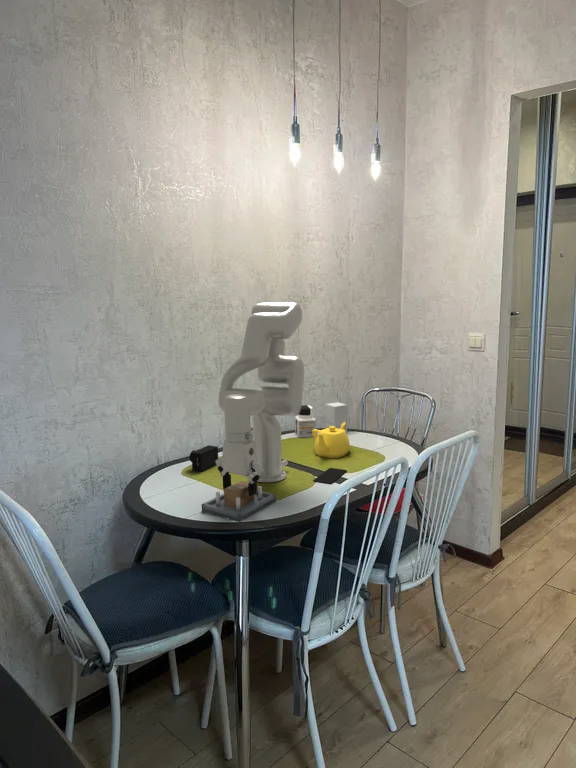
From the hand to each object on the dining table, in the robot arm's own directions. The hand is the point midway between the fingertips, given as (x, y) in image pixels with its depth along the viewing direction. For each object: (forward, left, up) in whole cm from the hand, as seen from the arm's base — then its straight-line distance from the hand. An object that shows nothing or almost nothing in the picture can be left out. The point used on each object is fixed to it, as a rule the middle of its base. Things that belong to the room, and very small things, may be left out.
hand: (239, 491), depth 168 cm
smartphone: (-38, +10, -5) cm, 39 cm away
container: (-80, -26, -5) cm, 84 cm away
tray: (0, 0, -5) cm, 5 cm away
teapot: (-62, -4, -5) cm, 62 cm away
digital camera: (-22, -34, -5) cm, 40 cm away
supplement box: (-92, -17, -5) cm, 93 cm away
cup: (-47, -34, -5) cm, 58 cm away
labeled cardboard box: (0, 0, -3) cm, 3 cm away
